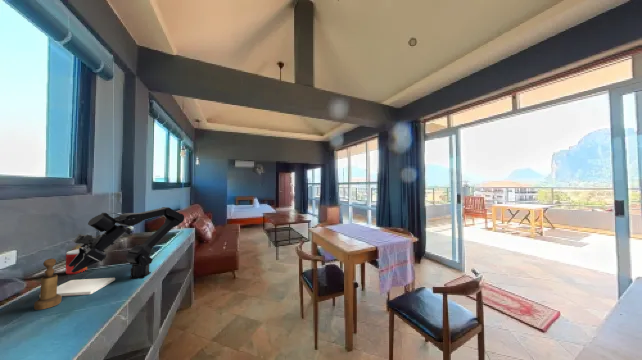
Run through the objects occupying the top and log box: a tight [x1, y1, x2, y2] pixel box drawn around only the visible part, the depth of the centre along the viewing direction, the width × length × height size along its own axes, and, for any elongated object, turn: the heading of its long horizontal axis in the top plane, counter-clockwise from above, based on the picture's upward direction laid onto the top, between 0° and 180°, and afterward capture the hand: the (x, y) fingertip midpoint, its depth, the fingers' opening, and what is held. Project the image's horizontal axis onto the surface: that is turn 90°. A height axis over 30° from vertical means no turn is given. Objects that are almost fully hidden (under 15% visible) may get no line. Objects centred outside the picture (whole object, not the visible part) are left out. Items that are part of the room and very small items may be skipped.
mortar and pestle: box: [33, 258, 63, 311], centre depth 81 cm, size 7×6×18 cm
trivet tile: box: [38, 277, 116, 299], centre depth 94 cm, size 18×13×1 cm
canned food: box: [65, 248, 89, 275], centre depth 110 cm, size 8×8×11 cm
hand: (70, 269), depth 85 cm, fingers open, 9 cm apart
